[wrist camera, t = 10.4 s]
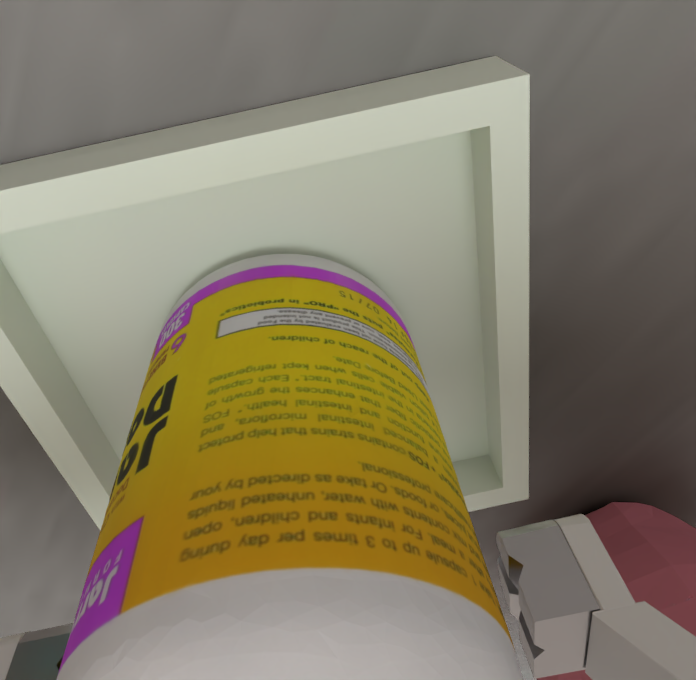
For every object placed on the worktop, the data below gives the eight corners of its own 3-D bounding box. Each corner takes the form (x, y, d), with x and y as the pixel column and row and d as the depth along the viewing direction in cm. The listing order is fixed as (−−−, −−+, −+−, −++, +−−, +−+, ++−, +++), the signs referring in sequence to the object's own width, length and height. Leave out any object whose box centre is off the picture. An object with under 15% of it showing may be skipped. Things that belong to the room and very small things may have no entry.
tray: (495, 55, 13) (530, 74, 11) (507, 452, 20) (528, 498, 18) (-69, 180, 13) (-118, 216, 11) (147, 530, 20) (137, 583, 19)
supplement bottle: (164, 221, 13) (-254, 1263, 3) (438, 264, 15) (851, 1083, 4) (154, 437, 17) (-52, 1261, 6) (375, 456, 18) (511, 1164, 8)
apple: (452, 528, 22) (564, 876, 14) (666, 405, 20) (950, 740, 12) (563, 619, 27) (693, 917, 19) (745, 529, 25) (984, 826, 16)
